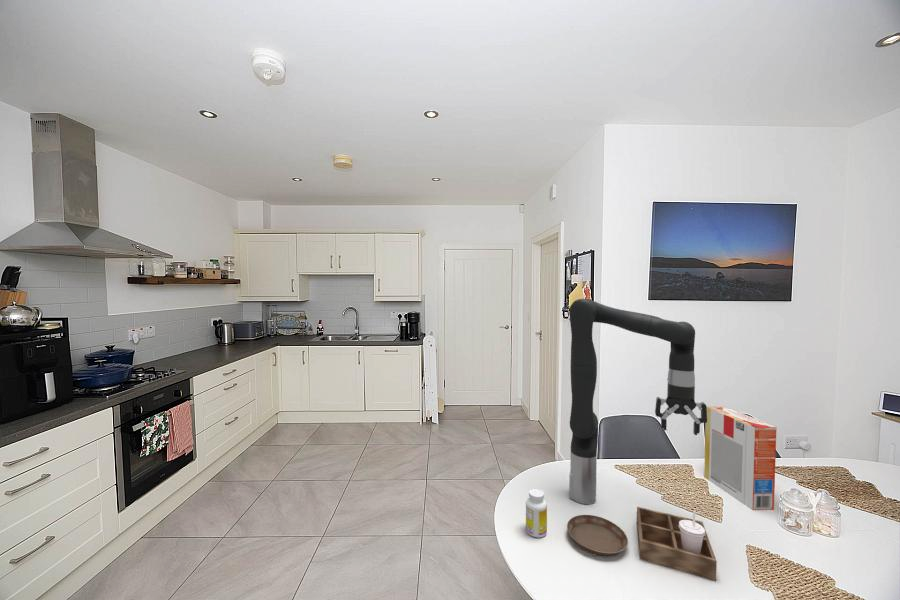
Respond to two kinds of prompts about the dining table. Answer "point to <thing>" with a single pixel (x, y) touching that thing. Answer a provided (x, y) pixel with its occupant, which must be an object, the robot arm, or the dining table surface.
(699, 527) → the smoothie
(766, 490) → the white and orange box
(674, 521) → the bottle caddy
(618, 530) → the plant saucer
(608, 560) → the dining table surface
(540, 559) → the dining table surface
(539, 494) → the supplement bottle
